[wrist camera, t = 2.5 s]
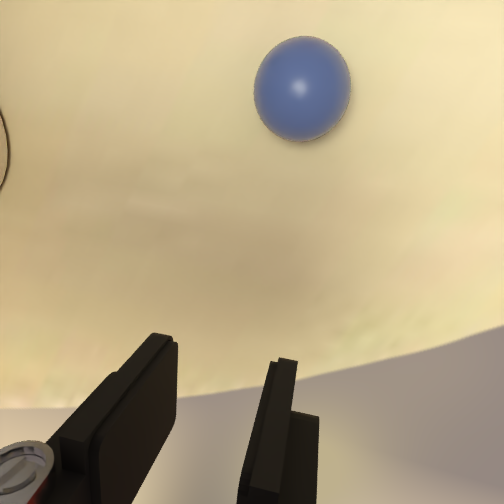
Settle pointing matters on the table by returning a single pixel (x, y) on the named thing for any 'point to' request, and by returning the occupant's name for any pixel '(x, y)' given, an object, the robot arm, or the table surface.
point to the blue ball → (302, 88)
